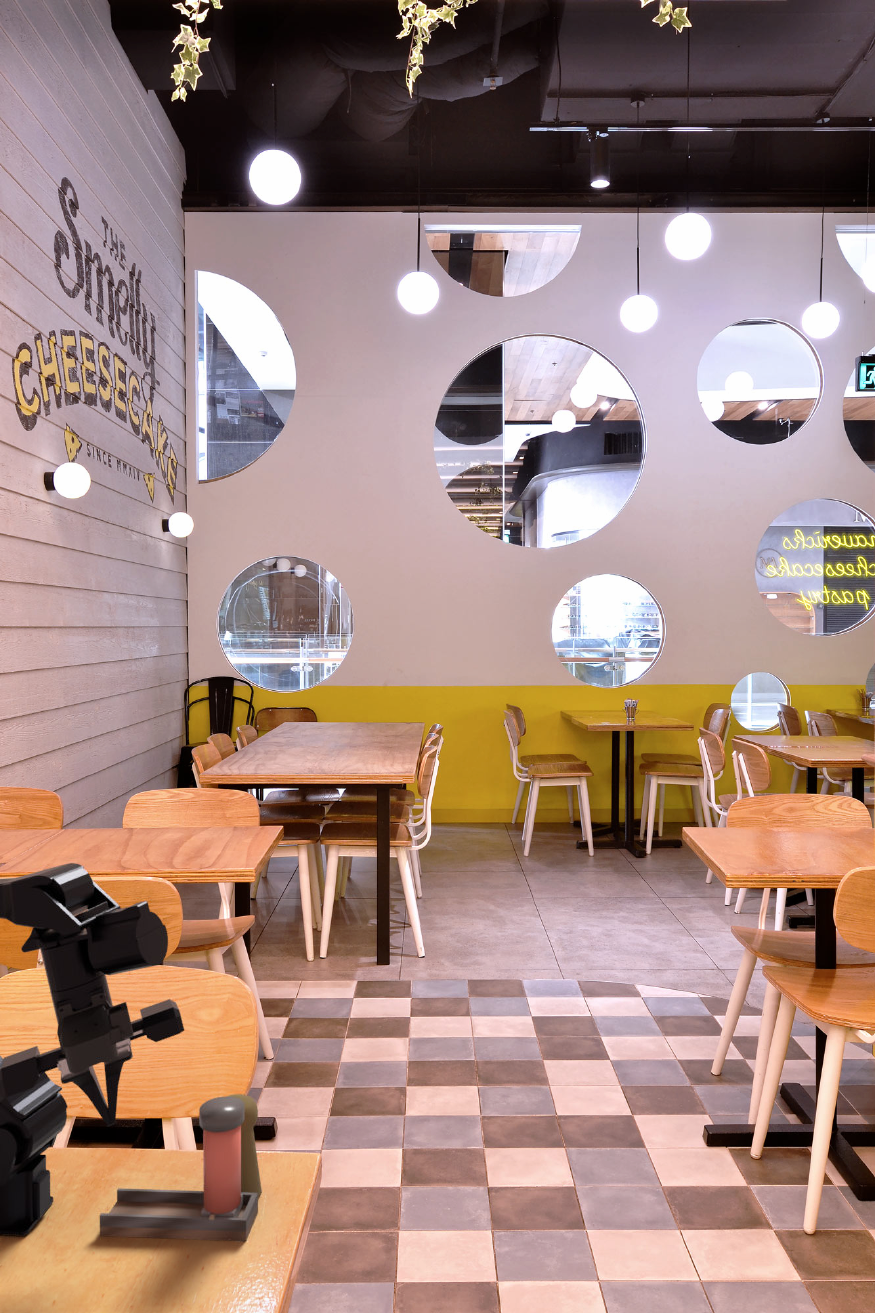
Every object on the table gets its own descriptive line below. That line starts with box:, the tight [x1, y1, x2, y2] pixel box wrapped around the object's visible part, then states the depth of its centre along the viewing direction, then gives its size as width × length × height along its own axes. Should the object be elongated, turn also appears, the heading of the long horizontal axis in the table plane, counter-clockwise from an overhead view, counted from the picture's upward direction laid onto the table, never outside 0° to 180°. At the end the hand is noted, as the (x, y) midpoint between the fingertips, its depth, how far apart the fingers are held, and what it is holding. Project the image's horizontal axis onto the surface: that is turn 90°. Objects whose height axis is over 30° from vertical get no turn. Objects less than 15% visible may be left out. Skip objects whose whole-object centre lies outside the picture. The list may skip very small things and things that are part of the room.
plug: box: [198, 1096, 244, 1218], centre depth 101 cm, size 5×5×12 cm
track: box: [99, 1187, 259, 1242], centre depth 101 cm, size 16×5×2 cm, turn 87°
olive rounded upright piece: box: [225, 1093, 263, 1200], centre depth 107 cm, size 6×6×11 cm
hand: (111, 1124), depth 100 cm, fingers closed
